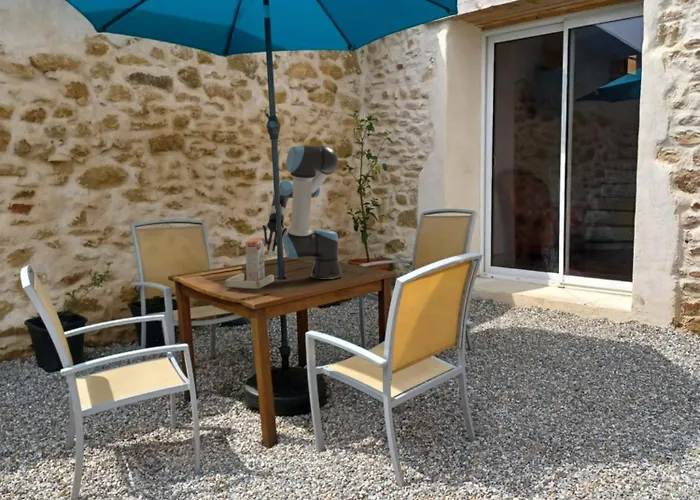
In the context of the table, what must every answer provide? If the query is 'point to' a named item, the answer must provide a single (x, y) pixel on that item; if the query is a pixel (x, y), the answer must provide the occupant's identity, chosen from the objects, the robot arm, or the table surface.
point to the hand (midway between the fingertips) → (269, 256)
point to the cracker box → (255, 259)
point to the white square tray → (247, 282)
